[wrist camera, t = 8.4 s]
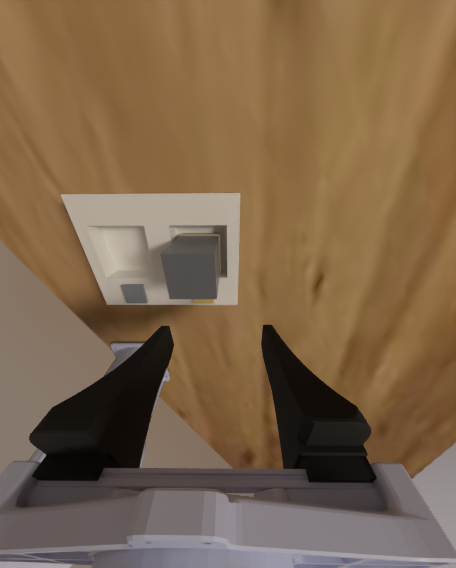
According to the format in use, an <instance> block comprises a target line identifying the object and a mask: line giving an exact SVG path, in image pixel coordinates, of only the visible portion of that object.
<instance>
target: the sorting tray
mask: <svg viewBox="0 0 456 568" xmlns="http://www.w3.org/2000/svg"><path fill="white" fill-rule="evenodd" d="M61 197H62V199H63V202H64V204H65V206H66V209H67V211H68V213H69V216H70V218H71V221H72V223H73V225H74V228H75V230H76V232H77V235H78V237H79V239H80V242H81V244H82V247H83V249H84V251H85V254H86V256H87V258H88V261H89V263H90V265H91V268H92V270H93V273H94V275H95V277H96V280H97V282H98V284H99V287H100V289H101V291H102V294H103V296H104V299H105V301H106V303H107V305H238V264H239V222H240V193H146V194H61ZM183 233H220V250H221V272H220V278H219V286H218V294H217V299H169V294H168V289H167V284H166V279H165V275H164V270H163V265H162V260H161V255H160V254H161V253H162V252H163V251H164V250H165V249H166V248H167V247H168V246H169V245H171V244H172V243H173V242H174V241H175V240H176V239H177V238H178V237H179V235H181V234H183Z"/></svg>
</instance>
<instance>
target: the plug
mask: <svg viewBox="0 0 456 568" xmlns="http://www.w3.org/2000/svg"><path fill="white" fill-rule="evenodd" d="M160 255H161V260H162V265H163V270H164V275H165V279H166V284H167V289H168V294H169V299H217V294H218V286H219V278H220V272H221V250H220V233H183V234H181V235H179V237H178V238H177V239H176V240H175V241H174V242H173V243H172V244H171V245H169V246H168V247H167V248H166V249H165V250H164V251H163V252H162V253H161V254H160Z"/></svg>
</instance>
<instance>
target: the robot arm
mask: <svg viewBox="0 0 456 568" xmlns="http://www.w3.org/2000/svg"><path fill="white" fill-rule="evenodd" d="M261 345H262V352H263V358H264V362H265V366H266V370H267V374H268V377H269V381H270V385H271V389H272V394H273V400H274V405H275V412H276V418H277V424H278V431H279V438H280V445H281V452H282V459H283V467H284V469H199V468H197V469H195V468H193V469H189V468H141V465H142V462H143V459H144V455H145V450H146V442H145V440H146V436H147V431H148V427H149V423H150V419H151V416H152V413H153V411H154V408H155V405H156V402H157V400H158V397H159V394H160V391H161V388H162V385H163V382H164V381H169V380H170V375H169V372H168V368H167V367H168V364H169V361H170V359H171V355H172V351H173V347H174V343H173V339H172V335H171V331H170V327H169V326H161V327H160V328H159V329H158V330H157V331H156V332H155V333H154V334H153V335H152V336H151V337H150V338H149V339H148V340H147V341H146V342H145V343H112V344H111V345H110V346H111V348H112V350H113V352H114V354H115V356H116V359H115V361H114V362H113V364H112V365H111V366H110V368H109V369H108V371H107V372H106V374H105V375H104V377H103V378H101V379H100V380H98V381H97V382H95V383H94V384H92V385H90V386H89V387H87V388H86V389H84V390H82V391H81V392H79V393H77V394H76V395H74V396H72V397H70V398H69V399H67V400H65V401H63V402H61V403H60V404H58V405H56V406H54V407H53V408H52V409H51V410H50V411H49V412H48V414H47V415H46V416H45V417H44V418H43V419H42V421H41V422H40V423H39V425H38V426H37V427H36V428H35V429H34V431H33V432H32V433H31V434H30V437H29V440H30V442H31V443H32V444H33V445H34V446H35V447H37V450H36V451H35V452H34V454H33V455H32V456H31V458H30V459H29V460H28V461H13V462H11V463H10V464H9V465H8V467H7V468H6V469H5V470H4V471H3V473H2V474H1V475H0V568H70V567H71V566H73V565H74V564H77V565H78V564H79V565H92V566H91V568H431V567H438V566H444V565H450V564H456V550H455V548H454V546H453V545H452V543H451V542H450V540H449V538H448V537H447V535H446V534H445V532H444V530H443V529H442V527H441V526H440V524H439V522H438V521H437V519H436V518H435V516H434V515H433V513H432V511H431V510H430V508H429V507H428V505H427V503H426V502H425V500H424V499H423V497H422V495H421V494H420V492H419V491H418V489H417V487H416V486H415V484H414V483H413V481H412V480H411V478H410V476H409V475H408V473H407V472H406V470H405V468H404V467H403V465H402V464H400V463H384V462H378V463H372V464H369V462H368V460H367V458H366V456H367V452H366V450H365V448H364V446H363V444H364V443H365V441H366V440H367V439H368V438H369V436H370V434H371V428H370V426H369V425H368V423H367V421H366V419H365V418H364V416H363V415H362V413H361V412H360V411H359V409H358V408H357V406H355V405H354V404H352V403H351V402H349V401H348V400H347V399H345V398H344V397H342V396H341V395H339V394H338V393H337V392H335V391H334V390H333V389H331V388H330V387H329V386H327V385H326V384H325V383H324V382H323V381H321V380H320V379H319V378H318V377H317V376H315V375H314V374H313V373H312V372H311V371H310V370H309V369H308V368H307V367H306V366H305V365H304V364H303V363H302V362H301V361H300V360H299V359H298V358H297V357H296V356H295V355H294V354H293V352H292V351H291V350H290V349H289V348H288V346H287V345H286V344H285V343H284V341H283V340H282V339H281V337H280V336H279V335H278V333H277V332H276V330H275V329H274V327H273V326H272V325H263V332H262V342H261ZM225 493H255V494H254V497H249V496H240V495H231V494H225Z"/></svg>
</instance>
